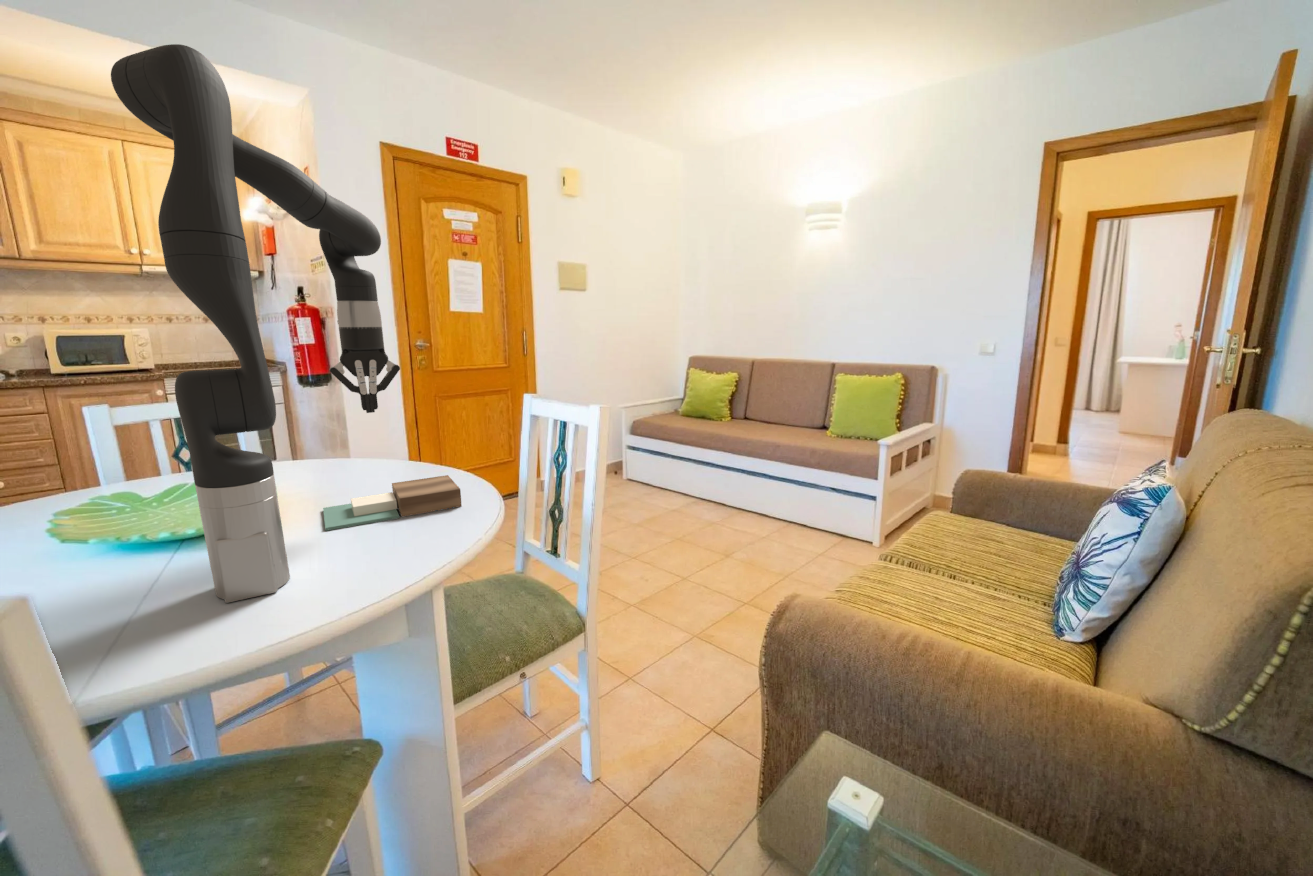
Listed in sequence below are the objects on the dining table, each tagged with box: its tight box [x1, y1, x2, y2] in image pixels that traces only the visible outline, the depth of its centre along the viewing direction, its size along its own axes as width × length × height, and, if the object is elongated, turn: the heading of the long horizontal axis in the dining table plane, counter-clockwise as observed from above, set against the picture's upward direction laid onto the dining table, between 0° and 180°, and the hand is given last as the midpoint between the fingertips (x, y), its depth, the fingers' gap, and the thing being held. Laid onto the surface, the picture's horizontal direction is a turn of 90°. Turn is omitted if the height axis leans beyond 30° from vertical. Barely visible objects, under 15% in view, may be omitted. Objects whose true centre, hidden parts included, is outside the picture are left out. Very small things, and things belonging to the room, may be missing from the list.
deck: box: [391, 474, 462, 518], centre depth 118 cm, size 12×12×4 cm
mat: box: [322, 503, 400, 532], centre depth 112 cm, size 13×13×1 cm
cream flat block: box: [350, 491, 398, 516], centre depth 113 cm, size 6×8×2 cm
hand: (370, 412), depth 109 cm, fingers closed
